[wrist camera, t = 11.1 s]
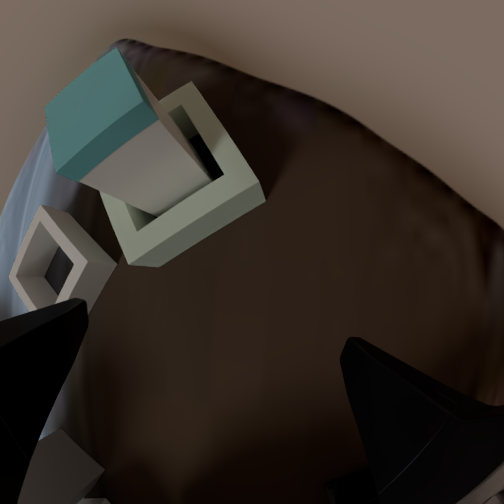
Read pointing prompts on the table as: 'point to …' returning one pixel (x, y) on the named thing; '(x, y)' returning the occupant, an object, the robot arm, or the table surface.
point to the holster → (42, 252)
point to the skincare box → (94, 501)
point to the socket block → (198, 204)
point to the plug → (122, 139)
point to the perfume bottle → (59, 472)
